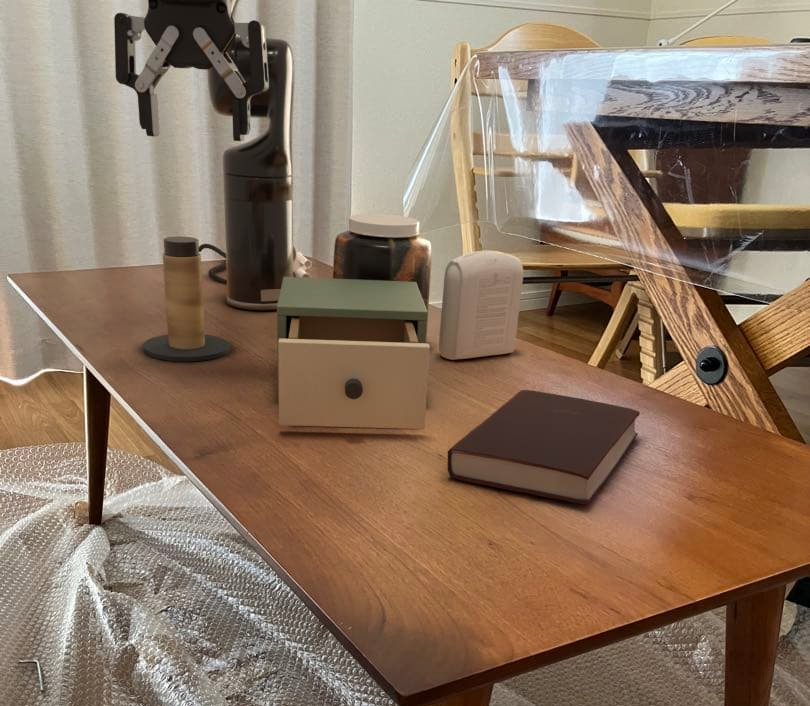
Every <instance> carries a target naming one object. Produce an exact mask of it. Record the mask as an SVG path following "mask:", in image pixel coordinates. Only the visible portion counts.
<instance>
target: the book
mask: <svg viewBox="0 0 810 706" xmlns="http://www.w3.org/2000/svg"><path fill="white" fill-rule="evenodd" d="M640 413H641V412H640V411H639V410H636V409H633V408H631V407H625V406H621V405H620V406H619V405H615V404H611V403H606V402H601V401H595V400H589V399H585V398H580V397H573V396H569V395H561V394H556V393H550V392H543V391H537V390H531V389H529V390H528V389H523V390H522V389H521V390H520V391H518V392H517V393H516V394H515V395H514V396H512V397H511V398H510V399H508V401H507V402H505V403H504V404H502V406H501V407H499V408H498V409H497V410H496V411H495V412H493V413H492V414H491V415H490V416H489V417H487V418H486V419H485V420H484V421H482V422H481V423H480V424H479V425H477V426H475V428H473V429H472V430H470V431H469V432H468V433H467V434H466V435H465V436H464V437H462V438H461V439H460V440H458V441H457V442H456V443H454V445H452V446H451V447H450V448H449V450H447V473H448V474H449V476H450V477H451V478H452V479H456V480H458V481H463V482H467V483H473V484H476V485H482V486H488V487H492V488H497V489H503V490H507V491H512V492H519V493H523V494H529V495H533V496H534V495H535V496H538V497H544V498H549V499H554V500H560V501H565V502H569V503H572V504H581V505H588V504H589V503H590V502H591V501H592V499H594V497H595V496H596V495H597V493H598V492H599V491H600V489H601V487H602V485H603V484H605V483H606V481H607V480H608V478H609V477H610V476H611V474H612V473H613V472H614V470H615V468H616V467H617V466H618V464H619V462H621V460H622V459H623V458H624V456H625V454H626V453H627V452H628V450H629V449H630V447H631V446H632V444H633V443H634V441H635V440H636V438H637V436H638V434H639V433H638V432H636V428H635V425H636V419H637V418H638V417H639V416H640Z"/></svg>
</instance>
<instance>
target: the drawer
mask: <svg viewBox="0 0 810 706" xmlns="http://www.w3.org/2000/svg"><path fill="white" fill-rule="evenodd" d="M430 354H431V347H430V344H429V343H427V342H426V343H419V342H418V339H417V336H416V332H415V329H414V326H413V323H412V320H395V319H368V318H340V317H313V316H292V318H291V325H290V331H289V339H279V341H278V366H279V402H278V425H279V426H289V427H290V426H292V427H326V428H327V427H328V428H331V427H332V428H364V429H365V428H368V429H404V430H405V429H406V430H407V429H408V430H409V429H410V430H424V429H425V427H426V412H427V411H426V410H427V397H428V383H429V369H430V368H429V367H430Z"/></svg>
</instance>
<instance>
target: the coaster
mask: <svg viewBox="0 0 810 706" xmlns="http://www.w3.org/2000/svg"><path fill="white" fill-rule="evenodd" d="M142 350H143V353H144V354H145V355H147V356H148V357H150V358H153V359H157V360H161V361H162V360H163V361H168V362H181V363H182V362H183V363H185V362H186V363H188V362H189V363H191V362H192V363H193V362H204V361H209V360H215V359H218V358H221V357H224V356H226V355H228V353H229V352H230V350H231V345H230V343H229V342H228V340H226V339H225V338H222V337H220V336H217V335H213V334H212V335H211V334H205V346H203V347H201V348H198V349H190V350H183V349H176V348H172V347H170V346H169V342H168V334H163V335H158V336H157V335H156V336H155V337H154V336H153V337H150V338H148V339H146V340H145V341H144V342H143V344H142Z"/></svg>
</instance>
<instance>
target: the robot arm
mask: <svg viewBox="0 0 810 706" xmlns="http://www.w3.org/2000/svg"><path fill="white" fill-rule="evenodd" d="M239 2H240V0H147V3H148V8H147V12H146V15H145V16H143V17H142V16H134V15H131V14H128V13H125V12H118V13H116V14H115V15H114V17H113V23H114V26H113V27H114V66H115V67H114V68H115V69H114V70H115V71H114V72H115V79H116V82H117V83H118V84H120V85H124V86H126V87H129V88H131V89H133V90H134V91H135V93H136V96H137V107H138V119H139V120H138V121H139V126H140V128H141V130H145V134H146V136H147V137H159V135H160V122H159V106H158V105H159V103H158V94H155V88H156V87H157V85H158V84H159V82H160V81H161V79H162V78H163V76H164V75H165V74H166V73H167V72H168V71H169V69H170V67H173V69H192V68H194V69H197V70H205V71H207V72H206V75H207V89H208V94H209V100H210V104H211V106H212V107H211V108H212V109H213V110H214V112H215V113H216V114H218V115H219V116H224V117H232V139H233V140H232V141H234V142H244V141H245V136H248V135H250V132H251V129H252V127H251V119H253V118H254V119H267V121H268V124H267V128H266V129H265V130H264V131H263V132H262V133H261V134H259V135H258V136H256V137H254V138H253V139H251V140H249V141H247V142H244V143H240V144H237V145H234V146H230V147H228V148H227V149H225V150H224V151H223V153H222V178H223V179H222V181H223V182H222V183H223V203H224V205H223V207H224V229H225V230H224V235H225V236H224V237H225V252H224V251H223V250H222V249H220V248H218V247H217V246H215V245H213V244H210V243H203V244H200V245H199V253H201V252H202V251H203V250H205V249H208V250H212V251H214V252H215V253H217V254H218V255H220V256H221V257H223V258H224V259H225V260H224V262H222V263H221V264H218V265H216V266H214V267H212V268H210V269H209V270H208V275H209V277H210V278H211V279H213V280H214V281H216V282H218V283H221V284H223V285H226V304H228V305H229V306H231V307H234V308H238V309H242V310H249V311H277V304H278V299H279V295H280V290H281V286H282V281H283V277H294V272H293V246H294V175H293V174H294V173H293V172H294V169H293V168H294V167H293V166H294V165H293V163H294V162H293V120H294V100H295V77H296V76H295V75H296V71H295V57H294V52H293V50H292V47H291V45H290V44H289V42H288V41H286V40H285V39H280V38H270V37H267V35H266V34H267V33H266V27H265V24H264V23H263V22H260V21H258V20H256V19H253V20H250V21H249V22H235V19H236V13H237V10H238V5H239ZM144 31H146V34H147V35H148V36H149V38H150V40H151V41H152V43H153V44H154V45H155V47H154V49H153V51H152V52H151V54H150V55H149V57H148V59H147V60H146V62H145V63H144V64H145V66H144V67H143V69H142V71H141V72H140V73H139V74H138V73H137V71H136V70H137V69H136V67H137V66H136V65H137V61H136V60H137V59H136V42H138V41H140V39H141V38H142V33H143V32H144ZM224 269H226V279H225V278H223V277H221V276H219V275H217V274H216V272H219V271H221V270H224Z"/></svg>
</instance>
